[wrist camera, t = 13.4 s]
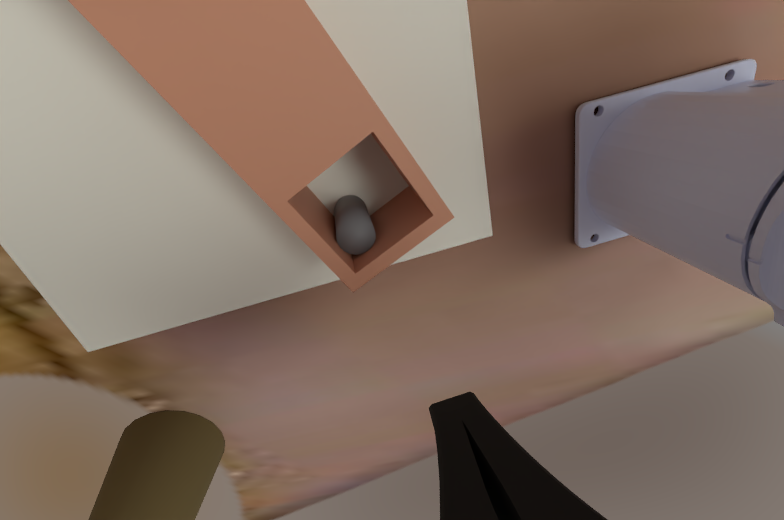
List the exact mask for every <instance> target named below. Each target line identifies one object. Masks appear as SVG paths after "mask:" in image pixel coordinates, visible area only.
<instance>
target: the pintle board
mask: <svg viewBox="0 0 784 520" xmlns="http://www.w3.org/2000/svg"><path fill="white" fill-rule="evenodd" d="M305 1H306V3H307V4H308V6H309V7H310V9H311V10H312V12H313V13H314V14H315V16H316V17H317V19H318V20H319V22H320V23H321V25H322V26H323V27H324V29H325V30H326V32H327V33H328V35H329V36H330V38H331V39H332V41H333V42H334V43H335V45H336V46H337V48H338V49H339V51H340V52H341V54H342V55H343V56H344V58H345V59H346V61H347V62H348V64H349V65H350V67H351V68H352V69H353V71H354V72H355V74H356V75H357V77H358V78H359V80H360V81H361V83H362V84H363V85H364V87H365V88H366V90H367V91H368V93H369V94H370V96H371V97H372V98H373V100H374V101H375V103H376V104H377V106H378V107H379V109H380V110H381V111H382V113H383V114H384V116H385V117H386V119H387V120H388V122H389V123H390V125H391V126H392V127H393V129H394V130H395V132H396V133H397V135H398V136H399V138H400V139H401V140H402V142H403V143H404V145H405V146H406V148H407V149H408V151H409V152H410V154H411V155H412V156H413V158H414V159H415V161H416V162H417V164H418V165H419V167H420V168H421V169H422V171H423V172H424V174H425V175H426V177H427V178H428V180H429V181H430V182H431V184H432V185H433V187H434V188H435V190H436V191H437V193H438V194H439V196H440V197H441V198H442V200H443V201H444V203H445V204H446V206H447V207H448V209H449V210H450V211H451V213H452V214H453V216H454V218H453V219H452V220H450V221H449V222H448V223H446V224H445V225H444V226H442V227H441V228H440V229H438V230H437V231H435V232H434V233H433V234H431V235H430V236H429V237H427V238H426V239H425V240H423V241H422V242H421V243H419V244H418V245H417V246H415V247H414V248H413V249H411V250H410V251H409V252H407V253H406V254H404V255H403V256H402V257H400V258H399V259H398V260H396V261H395V262H394V263H392V264H396V263H399V262H403V261H406V260H410V259H413V258H417V257H420V256H424V255H427V254H431V253H434V252H437V251H441V250H444V249H448V248H451V247H455V246H458V245H462V244H465V243H469V242H472V241H476V240H479V239H483V238H486V237H490V236H493V234H492V225H491V216H490V207H489V197H488V188H487V179H486V170H485V161H484V152H483V143H482V134H481V125H480V116H479V107H478V98H477V88H476V79H475V70H474V61H473V52H472V43H471V34H470V25H469V16H468V7H467V0H305ZM307 186H308V188H309V189H310V190H311V191H312V192H313V193H314V194H315V195H316V197H317V198H318V199H319V200H320V201H321V202H322V203H323V204H324V206H325V207H326V208H327V209H328V210H329V211H330V212H331V214H332V215H333V216H334V217H335V227H336V238H337V243H338V245H339V246H340V248H341V249H342V250H343V251H345V252H347V253H349V254H354V255H357V254H362V253H365V252H367V251H368V250H369V249H370V248H371V247H372V246H373V244H374V242H375V239H376V233H375V230H374V227H373V224H372V221H371V218H370V215H372V214H373V213H374V212H376V211H377V210H378V209H380V208H381V207H382V206H383V205H385V204H386V203H387V202H389V201H390V200H391V199H393V198H394V197H395V196H396V195H398V194H399V193H400V192H402V191H403V190H404V189H405V188H407V187H408V186H409V185H408V184H407V183H406V181H405V180H404V178H403V177H402V176H401V174H400V173H399V172H398V170H397V169H396V167H395V166H394V165H393V163H392V162H391V161H390V159H389V158H388V156H387V155H386V154H385V152H384V151H383V150H382V148H381V147H380V145H379V144H378V143H377V141H376V140H375V139H374V137H373V136H372V134H370V135H368V136H367V137H366V138H365V139H363V140H362V141H361V142H360V143H358V144H357V145H356V146H355V147H353V148H352V149H351V150H350V151H349V152H347V153H346V154H345V155H344V156H342V157H341V158H340V159H339V160H337V161H336V162H335V163H334V164H332V165H331V166H330V167H329V168H328V169H326V170H325V171H324V172H323V173H321V174H320V175H319V176H318V177H316V178H315V179H314V180H313V181H311V182H310V183H309V184H308V185H307ZM0 244H1V246H2V247H3V248H4V249H5V251H6V252H7V253H8V254H9V256H10V257H11V258H12V259H13V260H14V262H15V263H16V264H17V265H18V267H19V268H20V269H21V270H22V272H23V273H24V274H25V275H26V277H27V278H28V279H29V280H30V281H31V283H32V284H33V285H34V286H35V288H36V289H37V290H38V291H39V293H40V294H41V295H42V296H43V297H44V299H45V300H46V301H47V302H48V304H49V305H50V306H51V307H52V309H53V310H54V311H55V312H56V313H57V315H58V316H59V317H60V318H61V320H62V321H63V322H64V323H65V325H66V326H67V327H68V328H69V329H70V331H71V332H72V333H73V334H74V336H75V337H76V338H77V339H78V341H79V342H80V343H81V344H82V346H83V347H84V348H85V349H86V350H87V352H90V351H94V350H97V349H101V348H104V347H108V346H111V345H115V344H118V343H121V342H125V341H128V340H132V339H135V338H139V337H142V336H146V335H149V334H153V333H156V332H160V331H163V330H167V329H170V328H174V327H177V326H180V325H184V324H187V323H191V322H194V321H198V320H201V319H205V318H208V317H212V316H215V315H219V314H222V313H226V312H229V311H233V310H236V309H240V308H243V307H246V306H250V305H253V304H257V303H260V302H264V301H267V300H271V299H274V298H278V297H281V296H285V295H288V294H292V293H295V292H299V291H302V290H306V289H309V288H312V287H316V286H319V285H323V284H326V283H330V282H333V281H337V280H340V279H339V278H338V276H337V275H336V274H335V273H334V272H333V271H332V270H331V269H330V268H329V267H328V266H327V265H326V264H325V263H324V262H323V261H322V260H321V259H320V258H319V257H318V256H317V255H316V254H315V253H314V252H313V251H312V250H311V249H310V248H309V247H308V246H307V245H306V244H305V243H304V242H303V241H302V240H301V239H300V238H299V237H298V236H297V235H296V233H295V232H294V231H293V230H292V229H291V228H290V227H289V226H288V225H287V224H286V223H285V222H284V221H283V220H282V219H281V218H280V217H279V216H278V215H277V214H276V213H275V212H274V211H273V210H272V209H271V208H270V207H269V206H268V205H267V204H266V203H265V202H264V201H263V200H262V199H261V198H260V197H259V196H258V195H257V194H256V193H255V192H254V190H253V189H252V188H251V187H250V186H249V185H248V184H247V183H246V182H245V181H244V180H243V179H242V178H241V177H240V176H239V175H238V174H237V173H236V172H235V171H234V170H233V169H232V168H231V167H230V166H229V165H228V164H227V163H226V162H225V161H224V160H223V159H222V158H221V157H220V156H219V155H218V154H217V153H216V152H215V151H214V150H213V149H212V147H211V146H210V145H209V144H208V143H207V142H206V141H205V140H204V139H203V138H202V137H201V136H200V135H199V134H198V133H197V132H196V131H195V130H194V129H193V128H192V127H191V126H190V125H189V124H188V123H187V122H186V121H185V120H184V119H183V118H182V117H181V116H180V115H179V114H178V113H177V112H176V111H175V110H174V109H173V108H172V107H171V105H170V104H169V103H168V102H167V101H166V100H165V99H164V98H163V97H162V96H161V95H160V94H159V93H158V92H157V91H156V90H155V89H154V88H153V87H152V86H151V85H150V84H149V83H148V82H147V81H146V80H145V79H144V78H143V77H142V76H141V75H140V74H139V73H138V72H137V71H136V70H135V69H134V68H133V67H132V66H131V65H130V64H129V62H128V61H127V60H126V59H125V58H124V57H123V56H122V55H121V54H120V53H119V52H118V51H117V50H116V49H115V48H114V47H113V46H112V45H111V44H110V43H109V42H108V41H107V40H106V39H105V38H104V37H103V36H102V35H101V34H100V33H99V32H98V31H97V30H96V29H95V28H94V27H93V26H92V25H91V24H90V23H89V22H88V21H87V19H86V18H85V17H84V16H83V15H82V14H81V13H80V12H79V11H78V10H77V9H76V8H75V7H74V6H73V5H72V4H71V3H70V2H69V1H68V0H0ZM392 264H391V265H392Z"/></svg>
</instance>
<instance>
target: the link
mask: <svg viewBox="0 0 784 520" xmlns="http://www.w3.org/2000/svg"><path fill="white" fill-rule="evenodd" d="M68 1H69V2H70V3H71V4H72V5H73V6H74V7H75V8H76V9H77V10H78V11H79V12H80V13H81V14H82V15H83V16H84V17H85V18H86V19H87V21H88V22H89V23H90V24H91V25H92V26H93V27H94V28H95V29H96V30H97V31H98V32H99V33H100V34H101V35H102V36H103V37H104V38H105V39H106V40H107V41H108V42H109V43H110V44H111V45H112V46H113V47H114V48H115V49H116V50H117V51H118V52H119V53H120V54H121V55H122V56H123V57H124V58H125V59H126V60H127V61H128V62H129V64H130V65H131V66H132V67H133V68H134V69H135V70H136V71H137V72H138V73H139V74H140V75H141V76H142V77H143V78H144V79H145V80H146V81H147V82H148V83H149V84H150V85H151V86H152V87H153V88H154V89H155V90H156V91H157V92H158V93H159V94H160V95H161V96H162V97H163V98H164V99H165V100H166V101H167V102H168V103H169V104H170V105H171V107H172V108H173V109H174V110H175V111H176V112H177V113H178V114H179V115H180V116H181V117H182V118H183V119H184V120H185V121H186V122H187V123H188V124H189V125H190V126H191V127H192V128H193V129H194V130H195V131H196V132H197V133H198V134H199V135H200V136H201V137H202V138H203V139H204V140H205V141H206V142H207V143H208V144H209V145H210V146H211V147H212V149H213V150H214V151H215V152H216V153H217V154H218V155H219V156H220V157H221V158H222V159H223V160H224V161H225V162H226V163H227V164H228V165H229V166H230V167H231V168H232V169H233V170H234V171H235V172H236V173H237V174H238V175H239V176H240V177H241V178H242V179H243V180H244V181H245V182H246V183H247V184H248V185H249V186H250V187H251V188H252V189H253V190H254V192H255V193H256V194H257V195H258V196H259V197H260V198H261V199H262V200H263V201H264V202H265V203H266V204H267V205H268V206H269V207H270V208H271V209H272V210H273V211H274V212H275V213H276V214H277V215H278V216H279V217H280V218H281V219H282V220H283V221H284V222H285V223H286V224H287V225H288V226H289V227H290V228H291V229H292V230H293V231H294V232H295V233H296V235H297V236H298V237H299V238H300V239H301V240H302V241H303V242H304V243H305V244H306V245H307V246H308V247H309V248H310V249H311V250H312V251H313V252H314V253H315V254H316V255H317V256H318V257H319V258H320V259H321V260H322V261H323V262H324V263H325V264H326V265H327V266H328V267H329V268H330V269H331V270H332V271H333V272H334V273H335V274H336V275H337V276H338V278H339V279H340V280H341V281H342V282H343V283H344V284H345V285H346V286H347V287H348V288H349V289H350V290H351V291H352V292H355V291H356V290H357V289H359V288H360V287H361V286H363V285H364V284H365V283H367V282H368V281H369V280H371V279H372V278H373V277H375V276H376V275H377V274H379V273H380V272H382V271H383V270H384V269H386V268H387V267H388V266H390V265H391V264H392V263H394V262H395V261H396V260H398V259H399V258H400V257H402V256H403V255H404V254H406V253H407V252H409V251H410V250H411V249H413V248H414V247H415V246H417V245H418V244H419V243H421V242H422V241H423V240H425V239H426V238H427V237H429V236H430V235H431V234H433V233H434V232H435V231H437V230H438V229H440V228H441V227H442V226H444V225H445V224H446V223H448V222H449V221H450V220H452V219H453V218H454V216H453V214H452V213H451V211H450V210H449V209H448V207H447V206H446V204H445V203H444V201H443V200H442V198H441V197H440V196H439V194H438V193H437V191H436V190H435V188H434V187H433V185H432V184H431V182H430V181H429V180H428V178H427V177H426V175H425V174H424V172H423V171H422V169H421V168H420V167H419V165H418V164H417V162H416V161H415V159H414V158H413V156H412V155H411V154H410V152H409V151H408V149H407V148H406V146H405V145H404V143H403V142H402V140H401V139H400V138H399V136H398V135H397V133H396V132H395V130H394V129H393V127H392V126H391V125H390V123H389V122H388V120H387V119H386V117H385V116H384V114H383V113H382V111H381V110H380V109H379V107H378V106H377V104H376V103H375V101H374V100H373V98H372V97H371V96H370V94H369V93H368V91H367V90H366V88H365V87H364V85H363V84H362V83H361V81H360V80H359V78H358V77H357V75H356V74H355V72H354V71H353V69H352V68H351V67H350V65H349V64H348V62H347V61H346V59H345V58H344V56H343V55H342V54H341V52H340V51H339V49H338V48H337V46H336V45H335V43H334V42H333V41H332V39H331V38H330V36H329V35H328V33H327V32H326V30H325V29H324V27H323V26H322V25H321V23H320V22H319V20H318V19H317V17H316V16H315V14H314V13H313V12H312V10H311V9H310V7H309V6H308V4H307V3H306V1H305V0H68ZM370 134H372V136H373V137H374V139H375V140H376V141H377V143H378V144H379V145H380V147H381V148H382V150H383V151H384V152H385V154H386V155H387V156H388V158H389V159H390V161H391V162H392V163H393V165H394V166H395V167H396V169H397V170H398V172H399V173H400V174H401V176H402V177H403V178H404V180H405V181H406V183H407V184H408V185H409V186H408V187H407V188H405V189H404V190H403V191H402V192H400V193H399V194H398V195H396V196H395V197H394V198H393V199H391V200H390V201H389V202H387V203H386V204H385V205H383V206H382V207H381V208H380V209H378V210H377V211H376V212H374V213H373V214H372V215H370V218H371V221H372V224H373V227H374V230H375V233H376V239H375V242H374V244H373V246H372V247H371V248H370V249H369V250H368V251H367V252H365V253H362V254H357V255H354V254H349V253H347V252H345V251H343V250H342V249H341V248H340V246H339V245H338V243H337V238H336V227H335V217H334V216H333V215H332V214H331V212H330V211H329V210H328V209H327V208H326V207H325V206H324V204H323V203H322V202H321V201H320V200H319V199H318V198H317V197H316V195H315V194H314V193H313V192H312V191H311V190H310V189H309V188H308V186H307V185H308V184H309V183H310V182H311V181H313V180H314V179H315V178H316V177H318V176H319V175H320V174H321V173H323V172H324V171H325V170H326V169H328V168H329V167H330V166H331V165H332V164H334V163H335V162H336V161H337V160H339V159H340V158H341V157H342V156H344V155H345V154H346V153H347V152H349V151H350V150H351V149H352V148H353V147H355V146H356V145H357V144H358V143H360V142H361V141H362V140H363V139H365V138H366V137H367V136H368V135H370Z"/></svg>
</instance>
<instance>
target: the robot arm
mask: <svg viewBox="0 0 784 520" xmlns="http://www.w3.org/2000/svg"><path fill="white" fill-rule="evenodd" d="M756 65H757V64H756V61H755V60H754V59H743V60H739V61H735V62H732V63H728V64H724V65H721V66H717V67H713V68H710V69H706V70H702V71H699V72H695V73H691V74H688V75H684V76H680V77H677V78H673V79H669V80H666V81H662V82H658V83H655V84H651V85H647V86H644V87H640V88H636V89H633V90H629V91H625V92H622V93H618V94H614V95H611V96H607V97H603V98H600V99H596V100H592V101H589V102H585V103H583V104H581V105H580V106H579V107H578V109H577V111H576V115H575V244H576V245H577V246H579V247H581V248H587V247H590V246H594V245H597V244H600V243H604V242H607V241H611V240H614V239H617V238H621V237H624V236H628V235H631V236H633V237H635V238H637V239H639V240H641V241H643V242H646V243H648V244H650V245H652V246H654V247H656V248H658V249H660V250H662V251H664V252H666V253H668V254H670V255H672V256H674V257H676V258H678V259H680V260H682V261H684V262H686V263H688V264H690V265H692V266H694V267H696V268H698V269H700V270H702V271H704V272H706V273H708V274H710V275H712V276H714V277H716V278H718V279H721V280H723V281H725V282H727V283H729V284H731V285H733V286H735V287H737V288H739V289H741V290H743V291H745V292H747V293H749V294H751V295H753V296H755V297H757V298H759V299H761V300H763V301H765V302H767V303H768V304H769V305H771V306H772V308H773V310H774V321H775V322H777V323H778V324H780V325H782V326H784V80H754V77H755V72H756ZM726 73H727V75H726ZM725 75H726V77H725ZM597 106H598V112H597V114H596V115H594V109H595V108H596V107H597ZM592 235H594V237H593V238H592V239H590V238H591V236H592ZM429 411H430V415H431V419H432V422H433V426H434V430H435V436H436V444H437V452H438V465H439V480H440V520H607V519H606V518H604V517H603V516H602V515H601V514H599V513H598V512H597V511H595V510H594V509H593V508H591V507H590V506H589V505H587V504H586V503H585V502H584V501H583V500H581V499H580V498H579V497H578V496H576V495H575V494H574V493H573V492H571V491H570V490H569V489H568V488H567V487H565V486H564V485H563V484H562V483H561V482H559V481H558V480H557V479H556V478H555V477H554V476H553V475H551V474H550V473H549V472H548V471H547V470H546V469H545V468H544V467H543V466H541V465H540V464H539V463H538V462H537V461H536V460H535V459H534V458H533V457H532V456H531V455H529V453H528V452H526V450H524V449H523V448H522V447H521V446H520V445H519V444H518V443H517V442H516V441H515V440H514V439H513V438H512V437H511V436H510V435H509V434H508V433H507V432H506V430H505V429H504V428H503V427H502V426H501V425H500V424H499V423H498V422H497V421H496V420H495V419H494V418H493V416H492V415H491V414H490V413H489V412H488V411H487V410H486V408H485V407H484V406H483V405H482V404H481V402H480V401H479V400H478V398H477V397H476V396H475V394H474V393H472V392H467V393H464V394H461V395H458V396H455V397H452V398H449V399H446V400H443V401H440V402H437V403H434V404H432V405H431V406H430V407H429Z"/></svg>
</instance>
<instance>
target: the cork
mask: <svg viewBox="0 0 784 520" xmlns="http://www.w3.org/2000/svg"><path fill="white" fill-rule="evenodd" d="M224 447H225V440H224V437H223V435H222V432H221V431H220V430H219V429H218V428H217V427H216V426H215V425H214V424H213V423H212V422H211V421H209V420H207V419H205V418H203V417H201V416H199V415H196V414H192V413H188V412H184V411H161V412H156V413H150V414H147V415H145V416H143V417H140V418H138V419H136V420H134V421H133V422H132V423H131V424H130V425H129V426H128V427H126V428H125V430H124V432H123V434H122V436H121V438H120V441H119V443H118V446H117V449H116V451H115V454H114V456H113V459H112V461H111V464H110V466H109V469H108V472H107V474H106V477H105V479H104V482H103V484H102V487H101V490H100V492H99V494H98V497H97V500H96V502H95V505H94V507H93V510H92V512H91V515H90V518H89V520H195V518H196V516H197V513H198V511H199V508H200V506H201V504H202V502H203V499H204V497H205V495H206V492H207V490H208V488H209V485H210V483H211V481H212V478H213V476H214V473H215V471H216V469H217V467H218V464H219V462H220V460H221V457H222V455H223V453H224Z"/></svg>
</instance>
